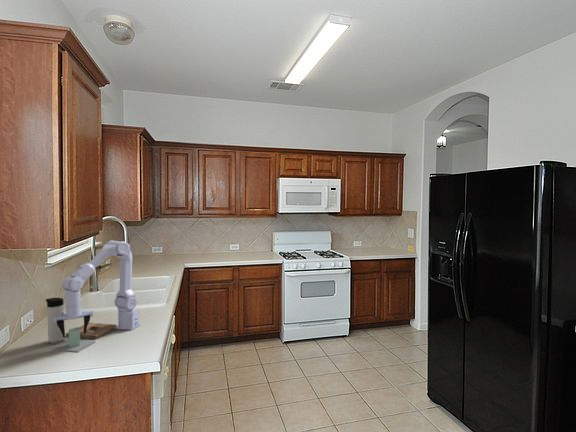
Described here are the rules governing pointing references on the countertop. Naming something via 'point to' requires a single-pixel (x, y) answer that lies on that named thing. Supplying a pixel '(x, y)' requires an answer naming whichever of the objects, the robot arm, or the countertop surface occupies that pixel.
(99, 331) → the pocket tray
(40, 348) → the countertop surface
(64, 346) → the rubber mat
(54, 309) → the travel mug
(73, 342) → the green block
